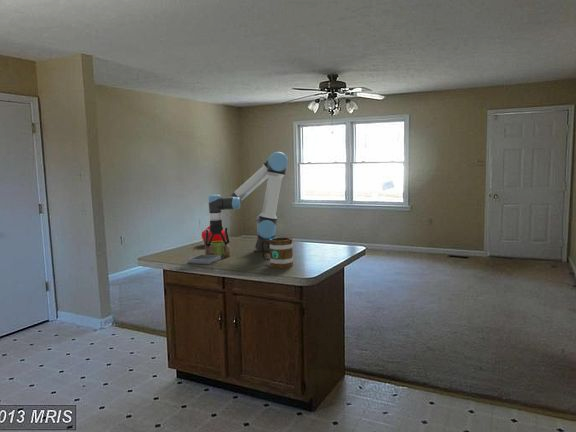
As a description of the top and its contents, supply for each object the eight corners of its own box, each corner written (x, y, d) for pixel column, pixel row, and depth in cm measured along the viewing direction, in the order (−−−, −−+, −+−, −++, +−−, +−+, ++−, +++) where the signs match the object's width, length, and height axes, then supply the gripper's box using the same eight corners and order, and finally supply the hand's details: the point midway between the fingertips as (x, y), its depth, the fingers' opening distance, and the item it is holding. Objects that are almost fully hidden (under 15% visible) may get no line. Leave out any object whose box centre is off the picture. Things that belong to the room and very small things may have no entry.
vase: (207, 242, 336) (206, 217, 334) (231, 242, 332) (230, 217, 330) (198, 247, 318) (196, 220, 316) (222, 247, 314) (221, 220, 312)
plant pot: (212, 257, 278) (212, 244, 277) (208, 255, 286) (207, 241, 285) (227, 256, 282) (226, 242, 281) (222, 253, 291) (221, 240, 290)
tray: (221, 259, 273) (220, 255, 273) (208, 264, 260) (208, 260, 260) (201, 258, 278) (201, 254, 278) (188, 263, 265) (187, 259, 265)
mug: (298, 264, 255) (297, 237, 253) (286, 269, 243) (285, 241, 241) (268, 261, 264) (267, 236, 263) (255, 266, 253) (254, 239, 251)
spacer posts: (236, 254, 289) (235, 243, 288) (222, 259, 273) (221, 248, 272) (212, 252, 295) (212, 242, 295) (198, 258, 280) (197, 246, 279)
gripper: (230, 217, 289) (232, 252, 292) (197, 220, 281) (199, 256, 284) (233, 218, 282) (235, 254, 285) (200, 221, 274) (202, 258, 277)
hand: (217, 255), depth 284 cm, fingers closed on plant pot, 8 cm apart
